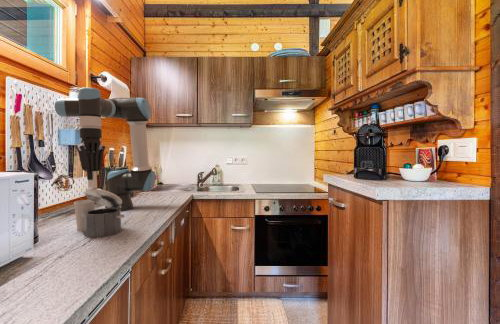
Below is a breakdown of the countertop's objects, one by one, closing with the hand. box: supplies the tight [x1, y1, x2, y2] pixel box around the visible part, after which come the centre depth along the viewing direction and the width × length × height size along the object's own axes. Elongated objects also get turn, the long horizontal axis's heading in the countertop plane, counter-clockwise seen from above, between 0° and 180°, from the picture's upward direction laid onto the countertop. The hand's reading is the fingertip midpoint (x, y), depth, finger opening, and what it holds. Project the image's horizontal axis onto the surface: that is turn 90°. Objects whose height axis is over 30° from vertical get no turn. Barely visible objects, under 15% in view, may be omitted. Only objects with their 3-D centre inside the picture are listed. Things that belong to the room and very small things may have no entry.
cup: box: [73, 199, 96, 232], centre depth 122 cm, size 8×8×12 cm
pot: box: [81, 207, 125, 239], centre depth 116 cm, size 15×19×10 cm
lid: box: [84, 187, 122, 208], centre depth 117 cm, size 16×15×3 cm
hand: (92, 187), depth 110 cm, fingers closed
